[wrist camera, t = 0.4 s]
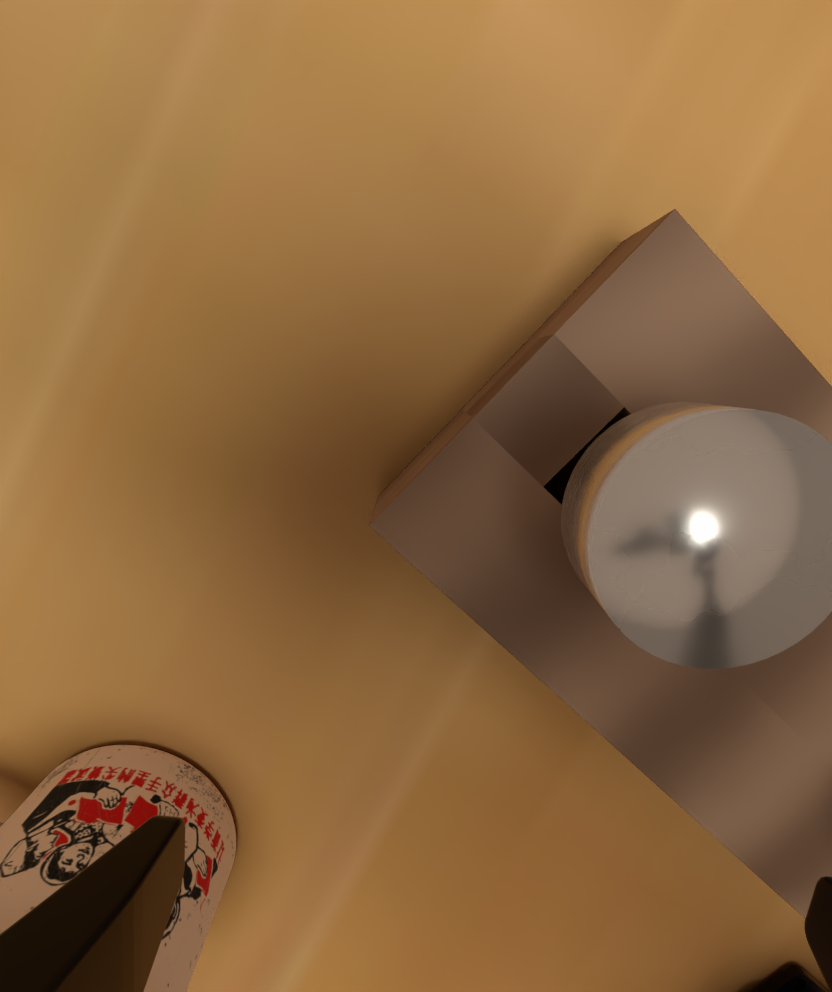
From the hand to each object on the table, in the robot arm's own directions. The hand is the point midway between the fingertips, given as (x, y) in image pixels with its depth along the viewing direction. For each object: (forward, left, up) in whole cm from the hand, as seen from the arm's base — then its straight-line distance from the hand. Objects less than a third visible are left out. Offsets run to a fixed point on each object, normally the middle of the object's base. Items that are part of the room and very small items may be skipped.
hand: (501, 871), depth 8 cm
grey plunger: (-1, -6, -10) cm, 12 cm away
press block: (-8, -6, -14) cm, 17 cm away
